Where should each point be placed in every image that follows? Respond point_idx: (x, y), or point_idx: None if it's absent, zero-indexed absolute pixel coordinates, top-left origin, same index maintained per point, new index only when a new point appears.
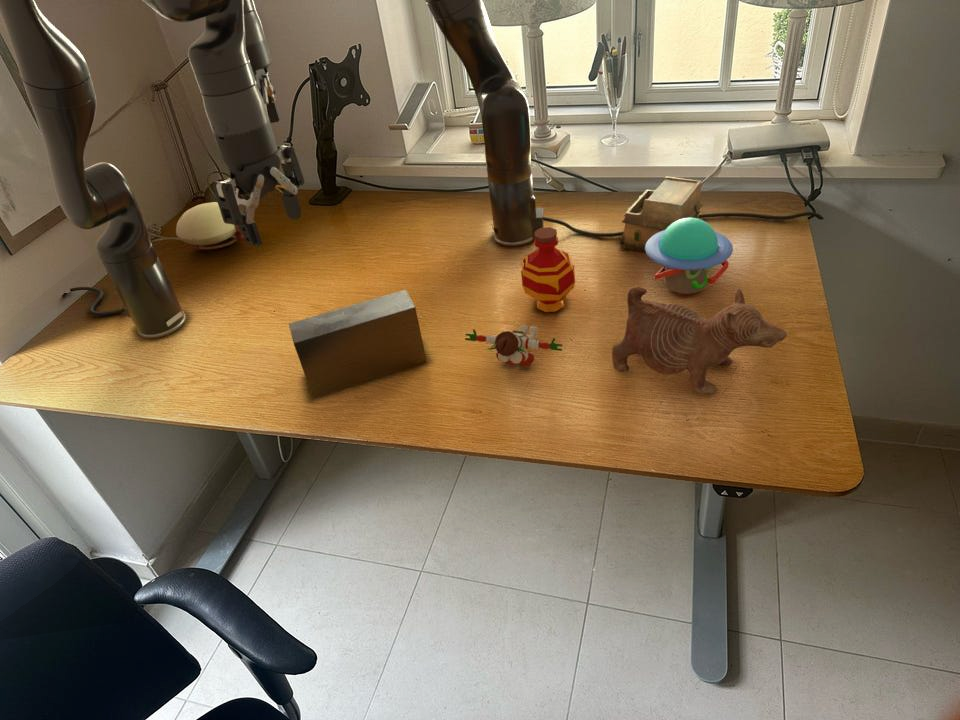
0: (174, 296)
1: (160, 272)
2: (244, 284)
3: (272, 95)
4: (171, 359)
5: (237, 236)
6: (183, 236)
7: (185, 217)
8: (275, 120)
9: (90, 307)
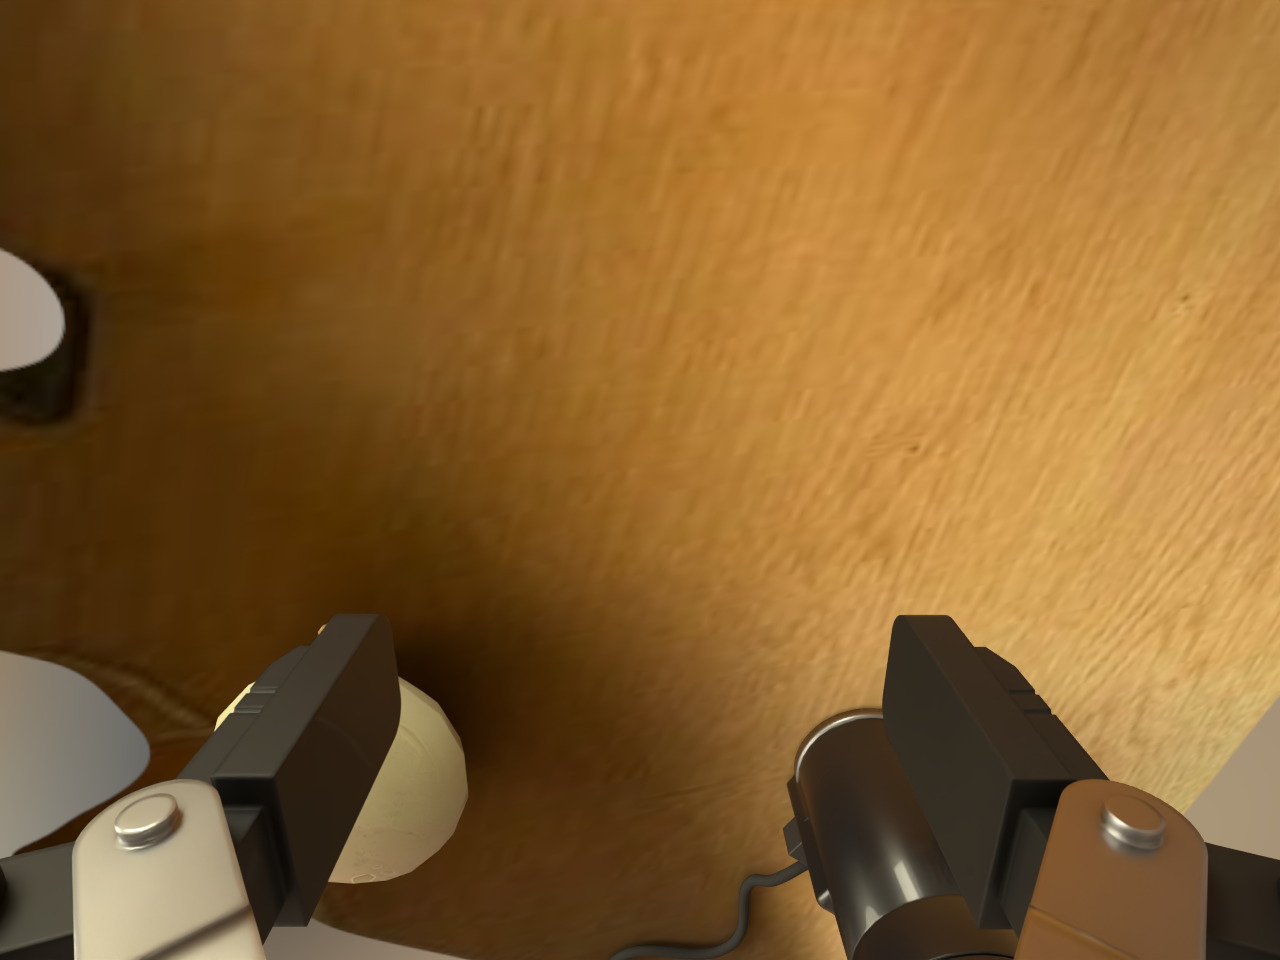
0: (890, 771)
1: None
2: (694, 577)
3: (208, 885)
4: (1052, 701)
5: None
6: (448, 837)
7: (365, 868)
8: (388, 656)
9: (709, 958)
